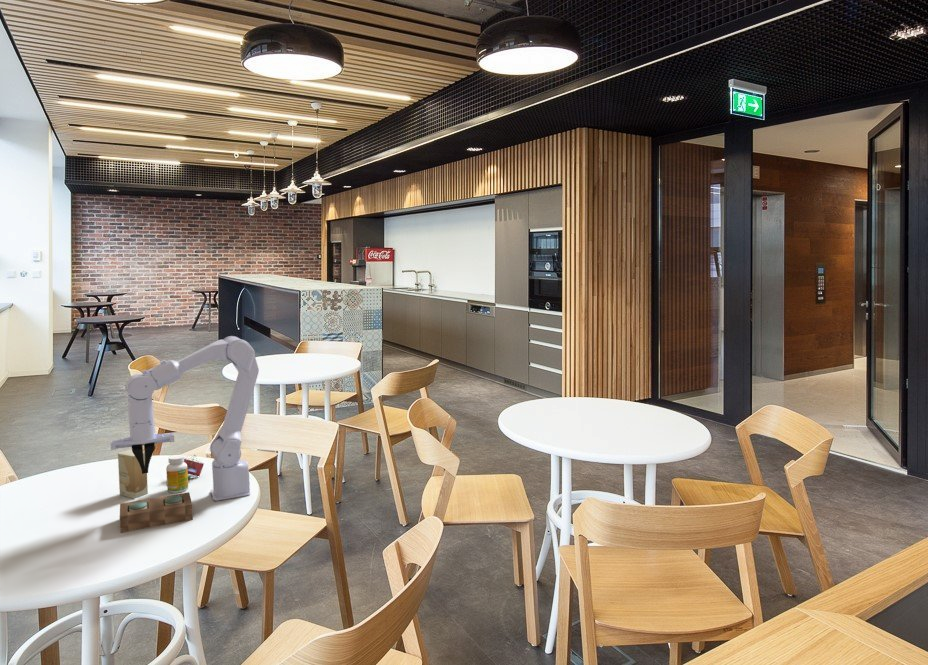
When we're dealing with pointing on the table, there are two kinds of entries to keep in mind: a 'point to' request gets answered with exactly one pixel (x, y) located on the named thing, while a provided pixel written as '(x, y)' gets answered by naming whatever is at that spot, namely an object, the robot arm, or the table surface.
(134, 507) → the peg
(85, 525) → the table surface
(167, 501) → the peg
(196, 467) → the geometric puzzle
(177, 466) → the supplement bottle
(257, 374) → the robot arm
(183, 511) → the walnut block
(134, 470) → the skincare box
